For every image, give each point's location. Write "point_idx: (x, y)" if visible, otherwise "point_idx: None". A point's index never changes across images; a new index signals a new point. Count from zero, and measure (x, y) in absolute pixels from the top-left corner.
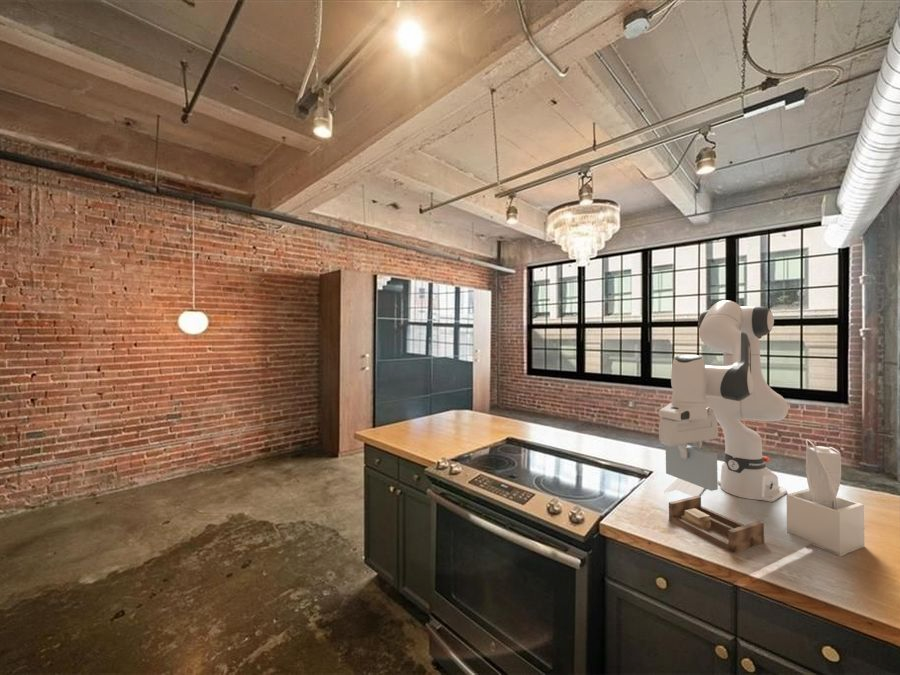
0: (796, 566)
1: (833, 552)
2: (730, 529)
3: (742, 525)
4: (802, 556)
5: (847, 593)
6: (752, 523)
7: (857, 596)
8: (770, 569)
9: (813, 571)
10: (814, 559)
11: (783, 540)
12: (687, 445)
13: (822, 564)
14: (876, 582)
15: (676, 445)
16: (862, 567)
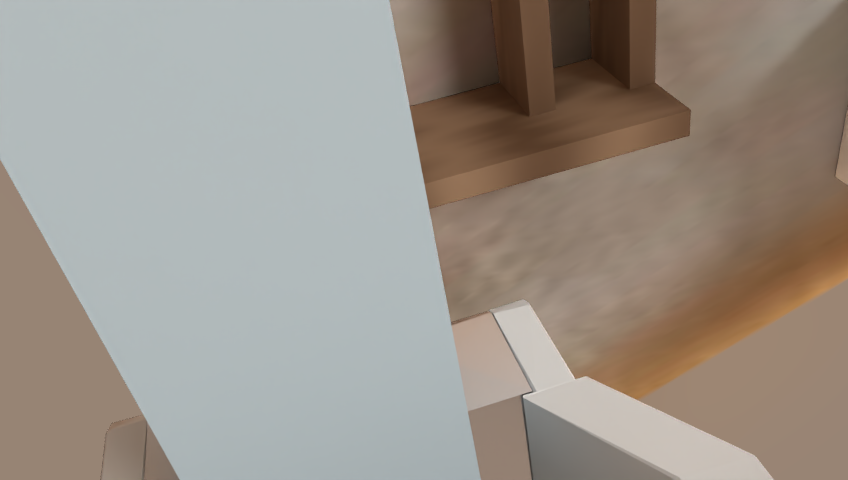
0: (584, 224)
1: (841, 158)
2: (519, 27)
3: (636, 2)
4: (694, 163)
5: (572, 361)
6: (619, 133)
7: (584, 373)
8: (451, 236)
9: (609, 256)
10: (713, 186)
11: (779, 28)
12: (445, 475)
13: (699, 219)
14: (734, 316)
15: (142, 391)
16: (808, 244)
